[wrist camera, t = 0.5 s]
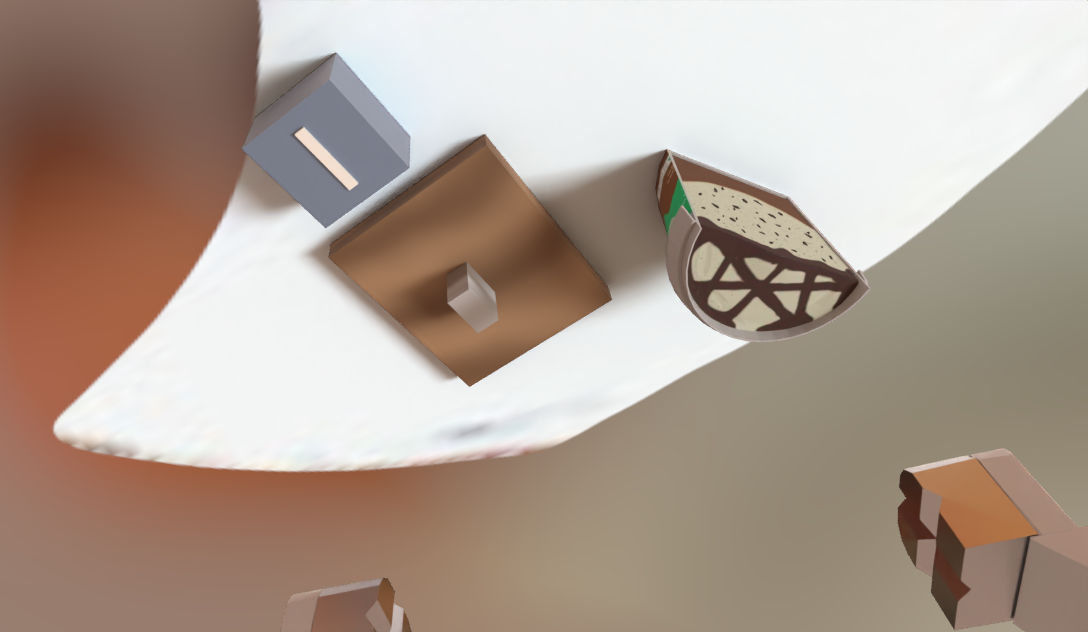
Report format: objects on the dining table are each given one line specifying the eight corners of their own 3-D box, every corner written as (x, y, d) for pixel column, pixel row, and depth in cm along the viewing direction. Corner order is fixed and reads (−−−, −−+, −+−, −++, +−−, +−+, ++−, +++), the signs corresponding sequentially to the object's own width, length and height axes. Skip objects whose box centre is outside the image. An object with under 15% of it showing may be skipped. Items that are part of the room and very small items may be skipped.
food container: (600, 224, 49) (634, 318, 41) (645, 141, 46) (691, 225, 38) (755, 276, 54) (812, 370, 46) (806, 203, 50) (877, 291, 42)
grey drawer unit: (254, 117, 42) (240, 150, 39) (336, 52, 41) (328, 81, 37) (332, 193, 46) (325, 230, 42) (410, 136, 44) (409, 169, 41)
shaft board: (330, 244, 48) (323, 285, 44) (484, 134, 45) (490, 169, 41) (468, 372, 56) (471, 416, 52) (607, 286, 52) (621, 327, 49)
